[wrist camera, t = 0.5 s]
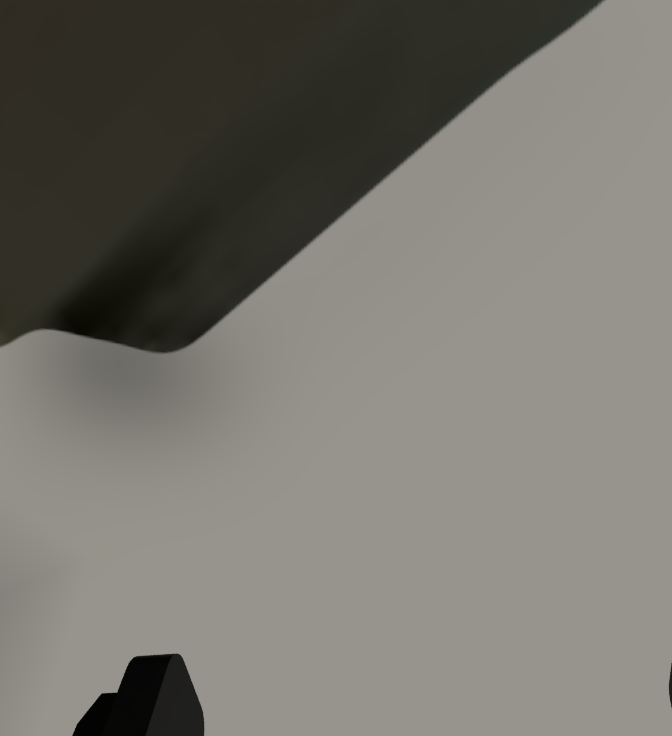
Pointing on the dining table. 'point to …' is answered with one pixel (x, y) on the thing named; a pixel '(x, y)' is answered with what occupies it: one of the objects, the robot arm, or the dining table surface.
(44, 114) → the dining table surface
